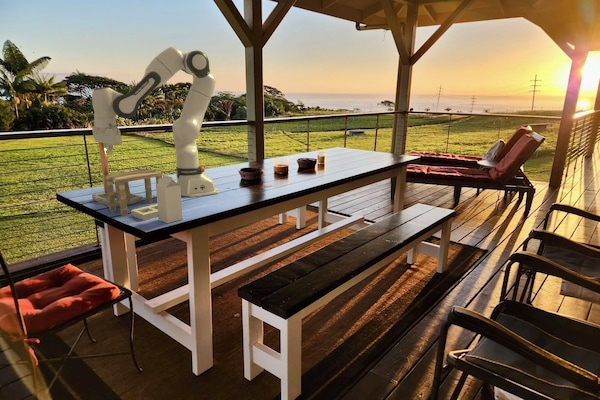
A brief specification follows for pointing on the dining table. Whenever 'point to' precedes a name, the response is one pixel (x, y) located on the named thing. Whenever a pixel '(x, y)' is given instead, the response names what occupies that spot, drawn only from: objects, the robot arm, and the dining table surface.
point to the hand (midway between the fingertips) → (109, 153)
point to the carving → (125, 190)
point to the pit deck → (146, 212)
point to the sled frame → (103, 196)
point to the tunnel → (120, 180)
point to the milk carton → (169, 200)
